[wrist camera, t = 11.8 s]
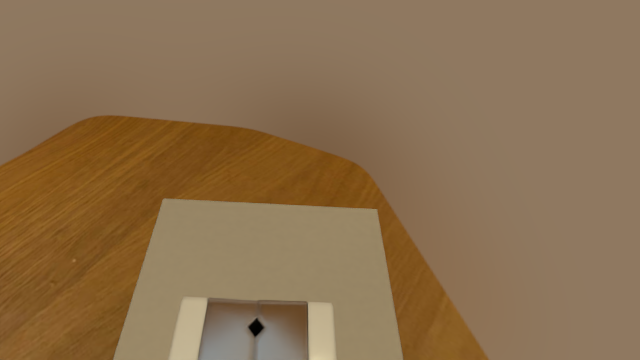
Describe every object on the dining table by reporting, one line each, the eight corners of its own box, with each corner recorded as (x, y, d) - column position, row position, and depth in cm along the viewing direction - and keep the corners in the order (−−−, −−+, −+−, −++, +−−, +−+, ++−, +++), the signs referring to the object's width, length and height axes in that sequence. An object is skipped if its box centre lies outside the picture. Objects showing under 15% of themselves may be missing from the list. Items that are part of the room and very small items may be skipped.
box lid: (164, 211, 32) (163, 198, 31) (374, 221, 33) (377, 209, 32) (70, 522, 19) (65, 510, 18) (424, 523, 20) (430, 511, 19)
